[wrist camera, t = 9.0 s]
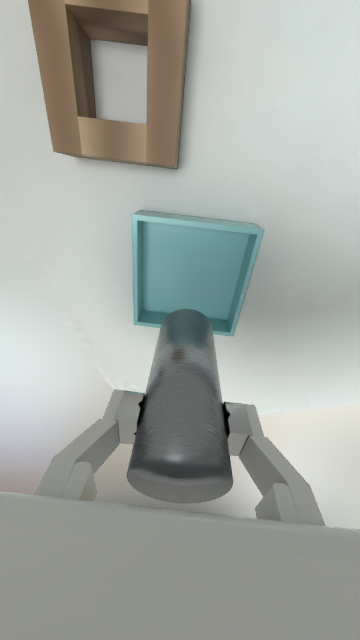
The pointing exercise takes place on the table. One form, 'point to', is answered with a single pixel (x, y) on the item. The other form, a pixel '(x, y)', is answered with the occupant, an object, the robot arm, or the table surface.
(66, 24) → the pin block
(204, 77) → the table surface
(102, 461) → the robot arm
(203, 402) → the pin
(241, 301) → the tray
